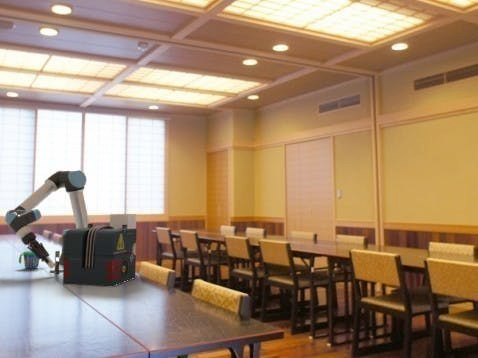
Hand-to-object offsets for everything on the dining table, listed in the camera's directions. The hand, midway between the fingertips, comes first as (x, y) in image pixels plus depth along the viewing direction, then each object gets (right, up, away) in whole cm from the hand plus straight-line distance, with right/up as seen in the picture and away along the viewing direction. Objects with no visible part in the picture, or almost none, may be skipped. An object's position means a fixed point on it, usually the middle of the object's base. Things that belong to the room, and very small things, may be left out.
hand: (53, 266), depth 271 cm
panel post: (-3, -6, +14) cm, 16 cm away
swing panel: (+1, -3, +3) cm, 4 cm away
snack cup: (-25, -6, +29) cm, 38 cm away
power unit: (+32, -5, -17) cm, 36 cm away
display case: (+36, -6, +11) cm, 38 cm away
